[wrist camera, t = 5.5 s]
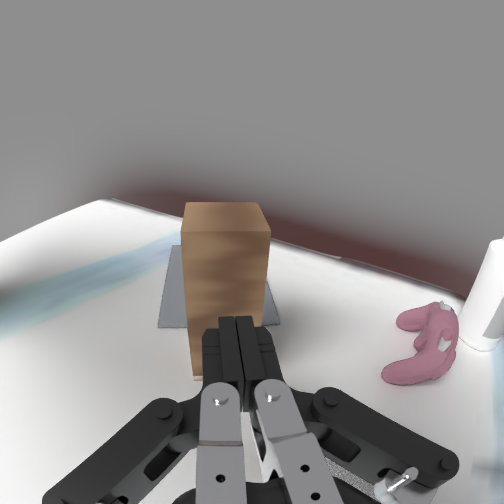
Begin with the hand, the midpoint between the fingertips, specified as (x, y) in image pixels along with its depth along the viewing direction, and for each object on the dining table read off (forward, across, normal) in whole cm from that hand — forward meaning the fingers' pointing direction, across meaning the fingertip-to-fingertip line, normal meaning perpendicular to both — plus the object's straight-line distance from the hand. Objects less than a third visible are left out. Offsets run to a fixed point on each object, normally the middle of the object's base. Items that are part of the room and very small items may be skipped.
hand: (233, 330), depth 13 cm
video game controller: (+4, -18, +11) cm, 22 cm away
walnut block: (+8, 0, +10) cm, 13 cm away
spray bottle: (+5, -30, +11) cm, 32 cm away
